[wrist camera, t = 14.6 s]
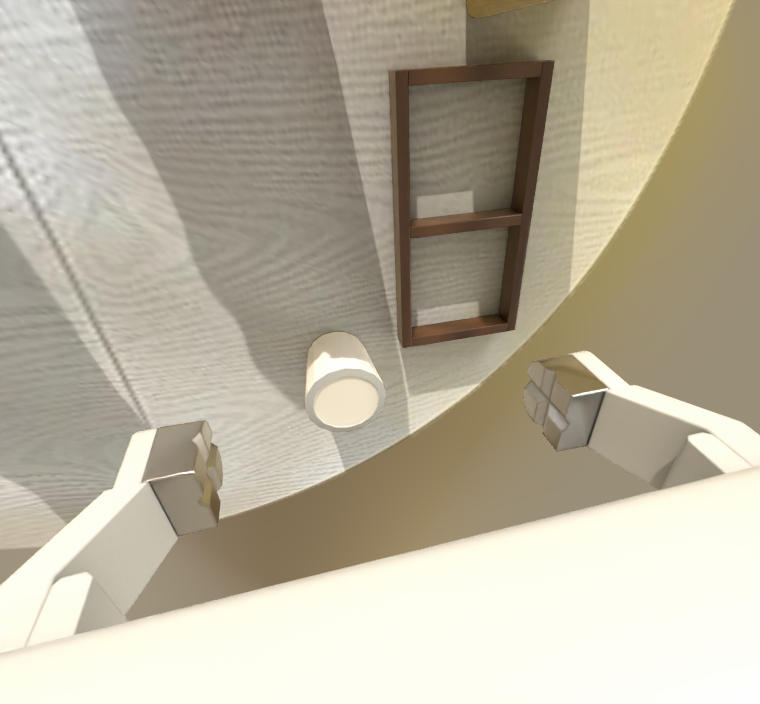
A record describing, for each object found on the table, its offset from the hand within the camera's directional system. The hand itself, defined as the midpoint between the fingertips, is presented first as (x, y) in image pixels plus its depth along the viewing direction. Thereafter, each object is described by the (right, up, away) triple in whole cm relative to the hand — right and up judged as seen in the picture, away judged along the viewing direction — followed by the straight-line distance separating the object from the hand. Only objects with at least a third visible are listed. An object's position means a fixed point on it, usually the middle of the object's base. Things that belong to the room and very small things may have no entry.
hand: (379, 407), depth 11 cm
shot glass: (-4, +1, +30) cm, 31 cm away
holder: (+7, +13, +25) cm, 29 cm away
